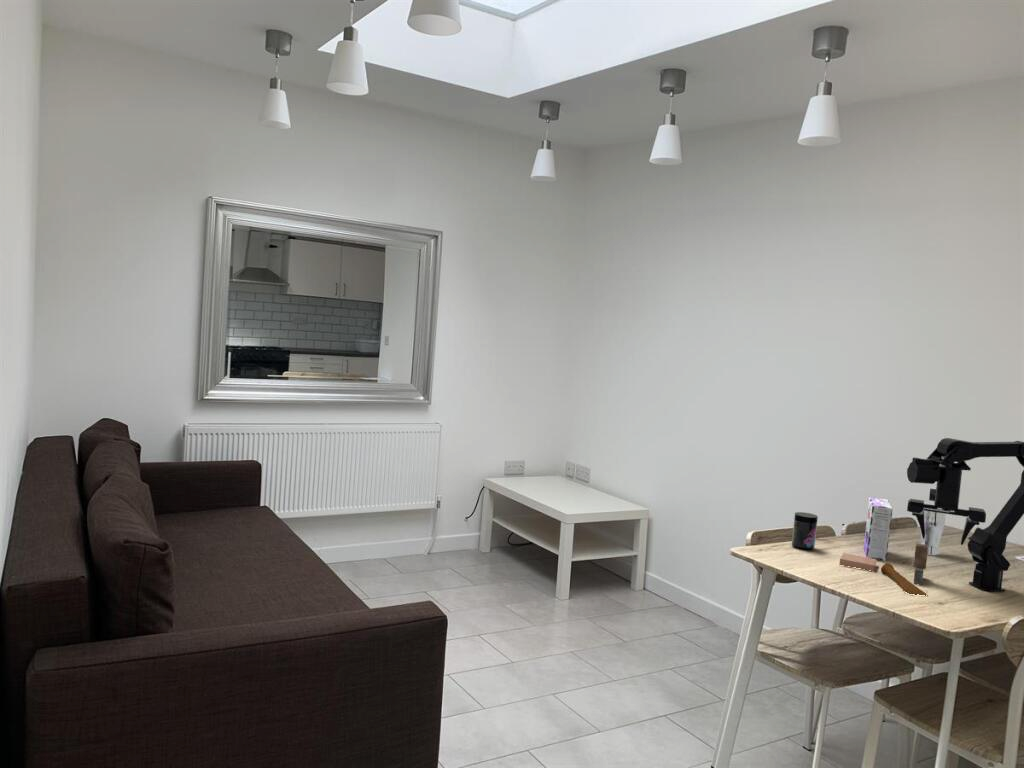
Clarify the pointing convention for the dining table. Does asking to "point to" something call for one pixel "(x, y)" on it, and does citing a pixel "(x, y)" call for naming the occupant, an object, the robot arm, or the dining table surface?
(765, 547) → the dining table surface
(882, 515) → the candy box
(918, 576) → the two-tone stacked blocks
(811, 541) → the supplement container
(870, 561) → the tan block
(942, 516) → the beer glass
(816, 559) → the dining table surface
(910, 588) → the primitive tool
